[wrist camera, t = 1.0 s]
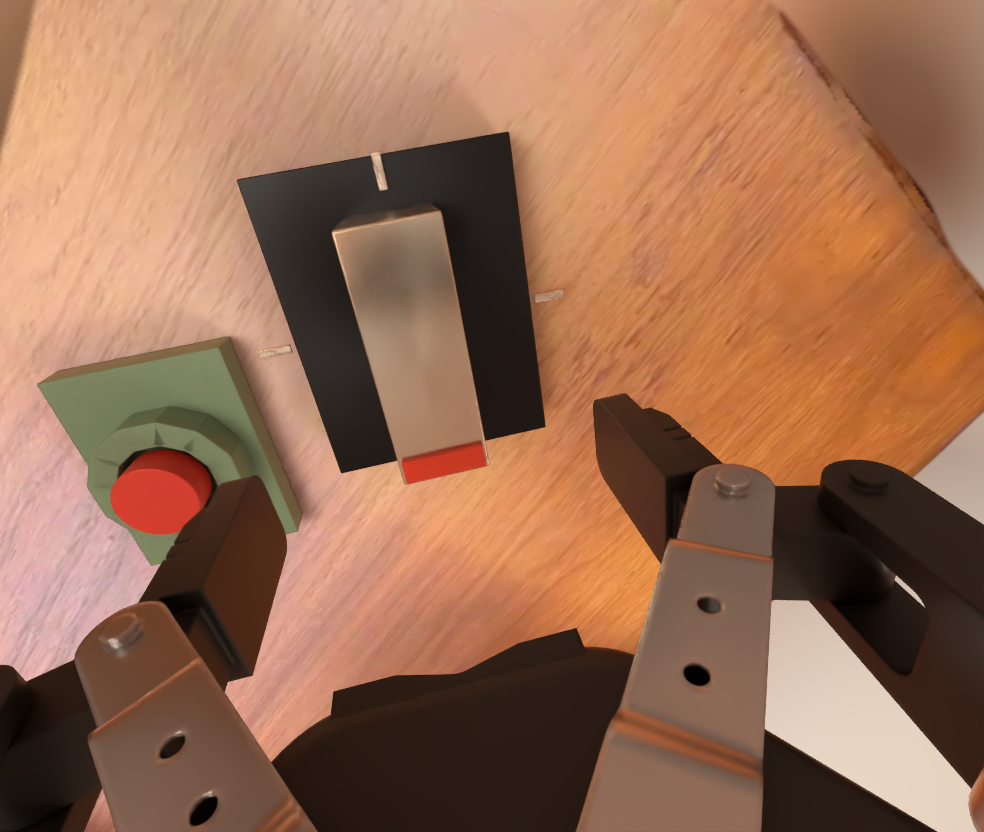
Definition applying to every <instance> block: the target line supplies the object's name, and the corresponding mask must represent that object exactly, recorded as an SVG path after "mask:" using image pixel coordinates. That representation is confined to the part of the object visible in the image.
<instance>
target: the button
mask: <svg viewBox="0 0 984 832" xmlns="http://www.w3.org/2000/svg"><path fill="white" fill-rule="evenodd" d="M211 488H212V484H211V479H210V476H209V474H208V472H207V470H206V469H205V468H204V466H203V465H202V464H201V463H200V462H198V461H197V460H196V459H194V458H193V457H191V456H189V455H187V454H185V453H182V452H178V451H174V450H154V451H150V452H147V453H145V454H142V455H141V456H139V457H138V458H136V459H135V460H134V461H133V462H132V463H131V465H130V466H129V467H128V468H127V469H126V470H125V471H124V473H123V474H122V475H121V476H120V477H119V478H118V479H117V480H116V482H115V483H114V485H113V487H112V489H111V494H110V500H111V505H112V507H113V509H114V511H115V513H116V514H117V516H118V517H119V518H120V519H121V520H122V521H123V522H125V523H126V524H127V525H129V526H130V527H132V528H134V529H136V530H139V531H142V532H145V533H149V534H156V535H166V534H173V533H177V532H180V531H181V529H182V528H183V526H184V525H185V524H186V523H187V522H188V521H189V520H190V519H191V518H192V517H194V516H195V515H196V514H197V513H198V512H199V511H200V510H201V509H203V507H204V505H205V503H206V502H207V500H208V498H209V496H210V493H211Z"/></svg>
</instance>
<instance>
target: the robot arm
mask: <svg viewBox="0 0 984 832" xmlns="http://www.w3.org/2000/svg"><path fill="white" fill-rule="evenodd" d="M593 415H594V429H595V442H596V455H597V461H598V465H599V469H600V472H601V474H602V476H603V478H604V480H605V482H606V483H607V484H608V486H609V487H610V489H611V490H612V492H613V493H614V495H615V496H616V498H617V499H618V501H619V502H620V504H621V505H622V507H623V508H624V510H625V511H626V513H627V514H628V516H629V517H630V519H631V520H632V522H633V523H634V525H635V526H636V528H637V529H638V531H639V532H640V534H641V535H642V537H643V538H644V540H645V541H646V543H647V544H648V546H649V547H650V549H651V550H652V552H653V553H654V554H655V556H656V557H657V559H658V560H659V562H660V563H661V567H660V570H659V574H658V577H657V581H656V584H655V588H654V591H653V594H652V598H651V601H650V605H649V608H648V612H647V615H646V618H645V622H644V625H643V629H642V632H641V636H640V639H639V642H638V646H637V649H636V653H635V655H633V654H630V653H627V652H624V651H619V650H614V649H610V648H601V647H584V646H583V643H582V641H581V638H580V636H579V633H578V631H577V628H575V629H571V630H567V631H563V632H560V633H556V634H552V635H548V636H544V637H540V638H537V639H533V640H529V641H525V642H521V643H518V644H516V645H514V646H512V647H510V648H508V649H507V650H505V651H503V652H501V653H499V654H497V655H495V656H493V657H491V658H489V659H487V660H485V661H484V662H482V663H480V664H478V665H476V666H474V667H472V668H470V669H468V670H466V671H464V672H462V673H458V674H444V675H397V676H391V677H388V678H384V679H380V680H376V681H372V682H368V683H365V684H361V685H357V686H353V687H349V688H345V689H342V690H338V691H334V692H333V701H332V709H331V715H329V716H327V717H326V718H324V719H322V720H321V721H319V722H318V723H316V724H314V725H313V726H311V727H310V728H308V729H307V730H306V731H305V732H303V733H302V734H301V735H299V736H298V737H297V738H296V739H294V740H293V741H292V742H291V743H290V744H289V745H288V746H287V747H286V748H285V749H283V750H282V751H281V752H280V753H279V754H278V756H277V757H276V758H275V759H274V760H273V761H272V762H270V760H269V759H268V757H267V756H266V754H265V753H264V751H263V750H262V748H261V747H260V745H259V744H258V742H257V741H256V739H255V738H254V736H253V735H252V733H251V732H250V730H249V729H248V727H247V726H246V724H245V723H244V721H243V720H242V718H241V717H240V715H239V714H238V712H237V711H236V709H235V707H234V706H233V704H232V703H231V701H230V700H229V698H228V697H227V695H226V694H225V689H226V686H227V683H228V682H229V681H233V680H237V679H241V678H245V677H249V676H253V672H254V668H255V665H256V661H257V658H258V654H259V650H260V647H261V643H262V640H263V636H264V633H265V629H266V625H267V622H268V618H269V615H270V611H271V607H272V604H273V600H274V597H275V593H276V590H277V586H278V582H279V579H280V575H281V572H282V568H283V564H284V561H285V557H286V553H287V539H286V534H285V530H284V527H283V525H282V523H281V521H280V518H279V516H278V514H277V512H276V509H275V507H274V505H273V503H272V500H271V498H270V496H269V494H268V491H267V489H266V487H265V485H264V483H263V481H262V479H261V478H260V477H259V476H257V475H254V476H250V477H245V478H241V479H236V480H232V481H228V482H223V483H221V484H220V486H219V487H218V489H217V491H216V493H215V494H214V496H213V498H212V500H211V502H210V504H209V505H208V507H207V508H204V509H201V510H200V511H199V512H198V513H197V514H196V515H195V516H194V517H192V518H191V519H190V520H189V521H188V522H187V523H186V524H185V525H184V526H183V528H182V529H181V531H180V533H179V534H178V536H177V538H176V539H175V541H174V546H171V548H170V550H169V551H168V553H167V555H166V560H163V562H162V563H161V565H160V567H159V568H158V570H157V572H156V574H155V575H154V577H153V579H152V580H151V582H150V584H149V585H148V587H147V589H146V591H145V592H144V594H143V596H142V597H141V599H140V601H139V602H138V603H137V604H134V605H131V606H129V607H127V608H124V609H122V610H120V611H118V612H117V613H115V614H113V615H111V616H110V617H108V618H107V619H105V620H104V621H103V622H101V623H100V624H99V625H98V626H96V627H95V628H94V629H93V630H92V631H91V632H90V633H89V634H88V635H87V636H86V637H85V638H84V640H83V641H82V642H81V644H80V645H79V647H78V649H77V651H76V653H75V658H74V660H73V661H70V662H68V663H66V664H64V665H62V666H59V667H57V668H55V669H53V670H51V671H48V672H46V673H44V674H42V675H40V676H38V677H35V678H33V679H31V680H29V681H27V682H26V681H25V680H24V679H23V678H22V677H21V675H20V674H19V673H18V672H17V671H16V670H15V669H14V668H13V667H11V666H9V665H0V832H84V830H85V828H86V825H87V823H88V821H89V818H90V816H91V814H92V811H93V809H94V806H95V804H96V802H97V799H98V797H99V794H100V792H101V790H102V788H103V791H104V794H105V798H106V801H107V804H108V807H109V810H110V813H111V816H112V819H113V823H114V826H115V829H116V832H937V831H935V830H934V829H932V828H930V827H928V826H927V825H925V824H923V823H922V822H920V821H918V820H917V819H915V818H913V817H912V816H910V815H908V814H907V813H905V812H903V811H902V810H900V809H898V808H897V807H895V806H893V805H891V804H890V803H888V802H886V801H885V800H883V799H881V798H880V797H878V796H876V795H875V794H873V793H871V792H870V791H868V790H866V789H865V788H863V787H861V786H860V785H858V784H856V783H854V782H853V781H851V780H849V779H848V778H846V777H844V776H843V775H841V774H839V773H838V772H836V771H834V770H833V769H831V768H829V767H827V766H826V765H824V764H823V763H821V762H819V761H817V760H816V759H814V758H812V757H811V756H809V755H807V754H806V753H804V752H802V751H801V750H799V749H797V748H795V747H794V746H792V745H791V744H789V743H787V742H786V741H784V740H782V739H781V738H779V737H777V736H776V735H774V734H772V733H771V732H769V731H767V730H765V709H766V692H767V673H768V654H769V634H770V616H771V600H808V601H810V603H811V604H812V605H813V606H814V607H815V608H816V610H817V611H818V612H819V613H820V614H821V615H822V616H823V618H824V619H825V620H826V621H827V622H828V623H829V625H830V626H831V627H832V628H833V629H834V630H835V632H836V633H837V634H838V635H839V636H840V637H841V638H842V640H844V642H845V643H846V644H847V645H848V647H849V648H850V649H851V650H852V651H853V652H854V653H855V655H856V656H857V657H858V658H859V659H860V660H861V662H862V663H863V664H864V665H865V666H866V667H867V669H869V671H870V672H871V673H872V674H873V676H874V677H875V678H876V679H877V680H878V681H879V682H880V684H881V685H882V686H883V687H884V688H885V689H886V691H887V692H888V693H889V694H890V695H891V696H892V698H893V699H894V700H895V701H896V702H897V703H898V704H899V705H900V707H901V708H902V709H903V710H904V711H905V712H906V714H907V715H908V716H909V717H910V718H911V719H912V721H913V722H914V723H915V724H916V725H917V726H918V727H919V729H920V730H921V731H922V732H923V733H924V735H925V736H926V737H927V738H928V739H929V740H930V741H931V743H932V744H933V745H934V746H935V747H936V748H937V750H938V751H939V752H940V753H941V754H942V755H943V757H944V758H945V759H946V760H947V761H948V762H949V763H950V765H951V766H952V767H953V768H954V769H955V770H956V771H957V773H958V774H959V775H960V776H961V777H962V778H963V779H964V781H965V782H966V783H967V784H968V785H969V787H970V788H971V792H970V795H969V810H970V815H971V818H972V821H973V824H974V826H975V828H976V830H977V832H984V525H983V524H982V523H980V522H979V521H977V520H976V519H974V518H973V517H971V516H969V515H968V514H967V513H965V512H963V511H962V510H960V509H959V508H957V507H956V506H954V505H953V504H951V503H950V502H948V501H947V500H945V499H944V498H942V497H941V496H939V495H937V494H936V493H935V492H933V491H931V490H930V489H928V488H927V487H925V486H924V485H922V484H921V483H919V482H918V481H916V480H915V479H913V478H912V477H910V476H909V475H907V474H905V473H904V472H902V471H900V470H898V469H896V468H894V467H891V466H888V465H885V464H882V463H878V462H873V461H866V460H843V461H838V462H834V463H832V464H829V465H828V466H826V467H825V468H824V469H823V471H822V474H821V480H820V485H816V486H774V484H773V482H772V481H771V479H770V478H769V477H767V476H766V475H765V474H763V473H762V472H760V471H758V470H756V469H753V468H750V467H747V466H743V465H737V464H723V463H722V462H721V461H720V460H718V459H717V458H716V457H715V456H714V455H713V454H712V453H711V452H710V451H709V450H707V449H706V448H705V447H704V446H703V445H702V444H701V443H700V442H699V441H697V440H696V439H695V438H694V437H691V434H690V433H689V432H687V431H686V430H685V429H684V428H681V425H680V424H679V423H677V422H676V421H675V420H674V419H673V418H672V417H671V416H670V415H668V414H665V413H663V412H660V411H658V410H655V409H653V408H647V409H642V408H641V407H639V406H638V405H637V404H636V403H635V402H634V401H633V400H632V399H631V398H630V397H629V396H628V395H627V394H625V393H623V394H619V395H614V396H610V397H605V398H601V399H596V400H595V401H594V403H593ZM896 575H897V576H898V577H899V578H900V579H901V580H902V581H903V582H904V583H906V584H907V585H908V586H909V587H910V588H911V589H912V590H913V591H914V592H916V594H917V595H918V596H919V598H920V599H921V600H922V602H923V604H924V606H925V607H923V606H922V605H921V604H920V603H919V602H918V601H917V600H916V599H915V598H913V597H912V596H911V595H910V594H909V593H908V592H907V591H906V590H904V589H903V588H902V587H901V586H900V585H899V584H898V583H897V582H896V581H895V577H896Z"/></svg>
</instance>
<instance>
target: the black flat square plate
mask: <svg viewBox="0 0 984 832" xmlns="http://www.w3.org/2000/svg"><path fill="white" fill-rule="evenodd" d="M237 182H238V185H239V188H240V191H241V194H242V196H243V199H244V202H245V205H246V208H247V210H248V213H249V216H250V219H251V222H252V224H253V227H254V230H255V233H256V236H257V238H258V241H259V244H260V247H261V250H262V252H263V255H264V258H265V261H266V264H267V267H268V269H269V272H270V275H271V278H272V281H273V283H274V286H275V289H276V292H277V295H278V297H279V300H280V303H281V306H282V309H283V311H284V314H285V317H286V320H287V323H288V325H289V328H290V331H291V334H292V337H293V339H294V342H295V345H296V348H297V351H298V354H299V356H300V359H301V362H302V365H303V368H304V370H305V373H306V376H307V379H308V382H309V384H310V387H311V390H312V393H313V396H314V398H315V401H316V404H317V407H318V410H319V412H320V415H321V418H322V421H323V424H324V427H325V429H326V432H327V435H328V438H329V441H330V443H331V446H332V449H333V452H334V455H335V457H336V460H337V463H338V466H339V469H340V471H341V473H345V472H349V471H354V470H358V469H363V468H367V467H371V466H376V465H380V464H385V463H389V462H393V461H397V457H396V454H395V450H394V447H393V443H392V440H391V437H390V433H389V430H388V426H387V423H386V419H385V416H384V412H383V409H382V406H381V402H380V399H379V395H378V392H377V388H376V385H375V381H374V378H373V375H372V371H371V368H370V364H369V361H368V357H367V354H366V350H365V347H364V344H363V340H362V337H361V333H360V330H359V326H358V323H357V319H356V316H355V312H354V309H353V306H352V302H351V299H350V295H349V292H348V288H347V285H346V281H345V278H344V275H343V271H342V268H341V264H340V261H339V257H338V254H337V250H336V247H335V244H334V240H333V237H332V231H333V230H334V229H335V228H336V227H337V226H338V224H339V223H340V222H341V221H342V220H343V219H344V218H345V217H346V216H349V215H355V214H360V213H366V212H371V211H376V210H382V209H387V208H392V207H398V206H403V205H409V204H414V203H419V202H425V201H431V202H432V203H433V204H434V205H435V206H436V207H437V208H438V209H439V210H440V211H441V212H442V217H443V222H444V227H445V232H446V238H447V243H448V248H449V253H450V259H451V264H452V269H453V274H454V279H455V285H456V290H457V295H458V300H459V306H460V311H461V316H462V321H463V327H464V332H465V337H466V342H467V348H468V353H469V358H470V363H471V369H472V374H473V379H474V384H475V390H476V395H477V400H478V405H479V411H480V416H481V421H482V426H483V432H484V437H485V441H486V440H490V439H495V438H499V437H504V436H508V435H513V434H517V433H521V432H526V431H530V430H535V429H539V428H543V427H545V426H546V425H545V417H544V409H543V401H542V393H541V385H540V377H539V369H538V361H537V353H536V345H535V337H534V329H533V321H532V313H531V305H530V297H529V289H528V281H527V273H526V265H525V257H524V249H523V241H522V233H521V225H520V217H519V209H518V201H517V193H516V185H515V176H514V168H513V160H512V152H511V144H510V136H509V132H503V133H497V134H492V135H486V136H480V137H475V138H469V139H463V140H458V141H452V142H446V143H441V144H435V145H429V146H424V147H418V148H412V149H407V150H401V151H395V152H390V153H384V154H380V152H379V151H378V152H372V153H371V156H367V157H361V158H356V159H350V160H344V161H339V162H333V163H327V164H322V165H316V166H310V167H305V168H299V169H293V170H288V171H282V172H276V173H271V174H265V175H259V176H254V177H248V178H242V179H238V180H237ZM561 297H564V293H563V289H559V290H554V291H550V292H545V293H540V294H535V295H534V301H535V303H537V302H542V301H546V300H551V299H556V298H561ZM292 352H293V351H292V348H291V346H290V345H285V346H280V347H276V348H271V349H266V350H261V351H259V352H258V353H259V355H260V358H261V359H265V358H270V357H274V356H279V355H284V354H289V353H292Z"/></svg>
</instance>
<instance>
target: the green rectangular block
mask: <svg viewBox="0 0 984 832" xmlns="http://www.w3.org/2000/svg"><path fill="white" fill-rule="evenodd" d="M37 386H38V387H39V389H40V390H41V392H42V394H43V395H44V397H45V398H46V400H47V401H48V403H49V405H50V406H51V408H52V409H53V411H54V413H55V414H56V416H57V417H58V419H59V421H60V422H61V424H62V425H63V427H64V428H65V430H66V432H67V433H68V435H69V436H70V438H71V440H72V441H73V443H74V444H75V446H76V447H77V449H78V451H79V452H80V454H81V455H82V457H83V459H84V460H85V462H86V463H87V465H88V467H89V468H88V481H87V486H88V489H89V491H90V492H91V494H92V496H93V497H94V499H95V500H96V502H97V503H98V505H99V506H100V508H101V509H102V511H103V513H104V514H105V516H107V517H108V518H110V519H111V520H113V521H115V522H116V523H118V524H120V525H122V526H123V527H125V528H127V529H128V530H129V532H130V533H131V535H132V536H133V538H134V540H135V541H136V543H137V544H138V546H139V547H140V549H141V551H142V552H143V554H144V555H145V557H146V559H147V560H148V562H149V563H150V565H151V566H153V565H157V564H161V563H162V562H163V560H166V555H167V553H168V551H169V550H170V548H171V546H174V541H175V539H176V538H177V536H178V534H179V533H180V532H177V533H173V534H166V535H156V534H149V533H145V532H142V531H139V530H136V529H134V528H132V527H130V526H129V525H127V524H126V523H125V522H123V521H122V520H121V519H120V518H119V517H118V516H117V514H116V513H115V511H114V509H113V507H112V505H111V500H110V494H111V489H112V487H113V485H114V483H115V482H116V480H117V479H118V478H119V477H120V476H121V475H122V474H123V473H124V471H125V470H126V469H127V468H128V467H129V466H130V465H131V463H132V462H133V461H134V460H135V459H136V458H138V457H139V456H141V455H142V454H145V453H147V452H150V451H154V450H174V451H178V452H182V453H185V454H187V455H189V456H191V457H193V458H194V459H196V460H197V461H198V462H200V463H201V464H202V465H203V466H204V468H205V469H206V470H207V472H208V474H209V476H210V479H211V484H212V488H211V493H210V496H209V498H208V500H207V502H206V503H205V505H204V507H203V509H204V508H207V507H208V505H209V504H210V502H211V500H212V498H213V496H214V494H215V493H216V491H217V489H218V487H219V486H220V484H221V483H223V482H228V481H232V480H236V479H241V478H245V477H250V476H254V475H257V476H259V477H260V478H261V479H262V481H263V483H264V485H265V487H266V489H267V491H268V494H269V496H270V498H271V500H272V503H273V505H274V507H275V509H276V512H277V514H278V516H279V518H280V521H281V523H282V525H283V527H284V530H285V534H289V533H294V532H297V531H298V529H299V525H300V521H301V517H302V511H301V508H300V506H299V504H298V501H297V499H296V496H295V494H294V492H293V489H292V487H291V484H290V482H289V480H288V477H287V475H286V473H285V470H284V468H283V465H282V463H281V461H280V458H279V456H278V453H277V451H276V449H275V446H274V444H273V441H272V439H271V437H270V434H269V432H268V429H267V427H266V425H265V422H264V420H263V417H262V415H261V413H260V410H259V408H258V405H257V403H256V401H255V398H254V396H253V393H252V391H251V389H250V386H249V384H248V381H247V379H246V377H245V374H244V372H243V369H242V367H241V365H240V362H239V360H238V357H237V355H236V353H235V350H234V348H233V345H232V343H231V341H230V338H229V337H224V338H219V339H214V340H209V341H204V342H199V343H194V344H189V345H184V346H179V347H174V348H169V349H164V350H160V351H155V352H150V353H145V354H140V355H135V356H130V357H125V358H120V359H115V360H110V361H105V362H100V363H95V364H90V365H85V366H80V367H75V368H70V369H65V370H60V371H58V372H56V373H54V374H53V375H51V376H49V377H48V378H46V379H44V380H43V381H41V382H40V383H38V384H37Z"/></svg>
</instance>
